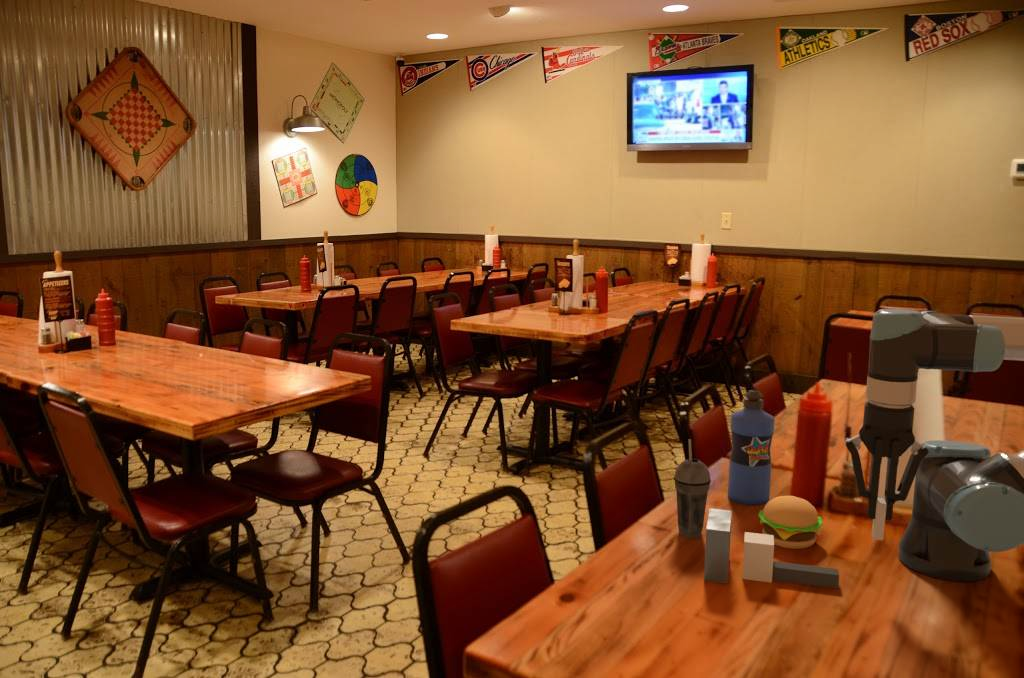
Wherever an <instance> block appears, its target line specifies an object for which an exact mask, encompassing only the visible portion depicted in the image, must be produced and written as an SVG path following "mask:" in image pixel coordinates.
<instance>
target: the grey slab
mask: <svg viewBox="0 0 1024 678" xmlns="http://www.w3.org/2000/svg"><path fill="white" fill-rule="evenodd" d="M732 516H733V515H732V510H729V509H720V508H712V507H711V508H710V507H709V509H708V516H707V517H708V518H707V522H706V528H705V529H706V530H705V549H704V550H705V552H704V572H703V573H704V574H703V581H704V582H710V583H712V582H713V583H719V584H726V585H728V578H729V563H730V556H731V555H730V554H731V552H730V551H731V533H732Z"/></svg>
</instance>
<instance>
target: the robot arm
mask: <svg viewBox="0 0 1024 678" xmlns="http://www.w3.org/2000/svg"><path fill="white" fill-rule="evenodd" d="M868 354H869V355H868V357H869V358H868V367H867V368H868V369H867V370H868V371H867V377H866V389H865V398H866V400H867V401H865V402H864V409H863V418H862V419H863V420H862V426H861V428H860V429H859V431H858V434H857V435H854V436H853V437H846V438H845V439H844V444H845V446H846V449H847V450H848V451H849V454H850V458H851V463H852V468H853V469H852V470H853V474H854V479H855V484H856V489H857V493H858V495H859V496H860V497H861V498H865V499H867V505H866V506H867V507H866V514H867V516H868V519H872V524H871V525H872V528H871V535H872V538H873V540H877V541H884V538H885V537H884V535H885V528H886V527H885V525H886V521H891V520H892V519H893V514H894V505H895V504H896V503H897V502H899V501H900V502H901V501H902V502H904V501H905V502H906V500H907V498H908V496H909V493H910V491H911V487H912V484H913V482H914V489H913V497H912V498H913V499H912V513H911V518H910V521H909V523H908V525H907V526H906V529H905V530H904V532H903V534H902V537H901V538H900V540H899V543H898V553H897V557H898V558H899V561H900V562H901V563H903V564H904V565H905V566H906V567H908V568H910V569H911V570H913V571H916V572H918V573H921V574H924V575H925V576H926V575H927V576H929V577H933V578H938V579H941V580H945V581H946V580H947V581H955V582H956V581H957V582H974V581H975V582H976V581H980V580H983V579H985V578H987V577H989V575H990V574H991V567H992V566H991V564H992V558H991V555H990V553H991V552H994V553H998V552H999V553H1000V552H1006V551H1012V550H1013V549H1016V548H1018V547H1020V546H1022V545H1024V449H1022V450H1020V451H1019V452H1017V453H1015V454H1011V453H1005V452H997V453H995V454H993V455H992V452H991V450H990V449H989V447H986V446H984V445H981V444H976V443H972V442H965V441H964V442H963V441H955V440H941V439H940V440H938V439H937V440H936V439H935V440H928V441H924V442H922V443H920V442H918V441H917V439H916V436H915V434H914V431H913V429H914V417H915V407H914V404H916V398H917V397H916V396H917V385H918V377H919V376H918V375H919V370H937V371H939V370H941V371H960V372H973V373H978V372H994V371H996V370H998V369H999V368H1000V366H1001V365H1002V363H1003V361H1004V360H1007V361H1021V362H1023V361H1024V317H1019V316H1018V317H1015V316H997V315H994V316H993V315H978V314H977V315H974V314H972V315H971V314H968V315H966V314H954V313H953V314H950V313H943V312H939V311H936V310H923V311H918V310H912V309H902V308H882V309H879V310H877V311H876V312H875V313H874V314H873V317H872V324H871V330H870V335H869V353H868ZM861 443H863V444H864V447H865V448H866V449H867V450H868V452H869V453H870V467H869V480H868V488H867V487H866V484H865V479H864V473H863V466H862V461H861V457H860V453H859V450H860V449H861V448H862V446H861ZM908 449H910V452H911V453H910V456H909V458H908V460H907V463H906V465H905V468H904V471H903V474H902V476H901V479H900V481H899V484H898V486H897V477H898V467H899V466H898V465H899V461H900V460H899V459H900V457H902V456H903V454H905V453H906V451H908ZM883 458H887V460H886V461H887V462H886V463H887V464H886V475H885V485H884V487H885V488H884V497H879V487H880V486H879V485H880V477H881V466H882V461H883V460H882V459H883ZM896 487H897V489H896Z"/></svg>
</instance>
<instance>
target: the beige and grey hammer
mask: <svg viewBox="0 0 1024 678" xmlns="http://www.w3.org/2000/svg"><path fill="white" fill-rule="evenodd" d="M743 541H744V543H743V559H742V561H743V562H742V579H743V580H748V581H749V580H750V581H756V582H764V583H770V584H771V583H772V582H773V581H776V582H784V583H792V584H798V585H807V586H813V587H820V588H821V587H823V588H828V589H829V588H831V589H838V590H839V585H840V584H839V583H840V571H839V569H838V568H835V567H834V568H831V567H825V566H816V565H815V566H814V565H808V564H799V563H793V562H792V563H791V562H784V561H775V560H774V555H775V553H774V551H775V545H774V535H768V534H763V533H756V532H751V531H750V532H749V531H747V532H746V531H744V540H743Z"/></svg>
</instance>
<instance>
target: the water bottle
mask: <svg viewBox="0 0 1024 678" xmlns="http://www.w3.org/2000/svg"><path fill="white" fill-rule="evenodd" d="M744 396H745V398H743V406H742V407H743V409H740V410H738V411H735V412H733V413H731V415H730V426H729V428H730V431H731V432H730V433H731V436H730V437H731V444H732V446H731V451H730V457H729V461H728V462H729V464H728V480H727V481H728V483H727V498H728V499H729V500H730V501H732V502H734V503H736V504H739V505H745V506H763V505H766V504H767V502H768V501H770V495H771V493H770V492H771V481H772V480H771V476H772V458H771V447H772V442H773V441H772V440H773V436H774V433H775V419H776V418H775V417H774V415H771V414H769V413H768V412H766V411H764V409H763V408H764V399H762V398H763V397H764V395H763V394H762V392H760V391H759V390H758V389H754V388H752V389H749V390H748V391H747V392H746V393H745V394H744Z"/></svg>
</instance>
